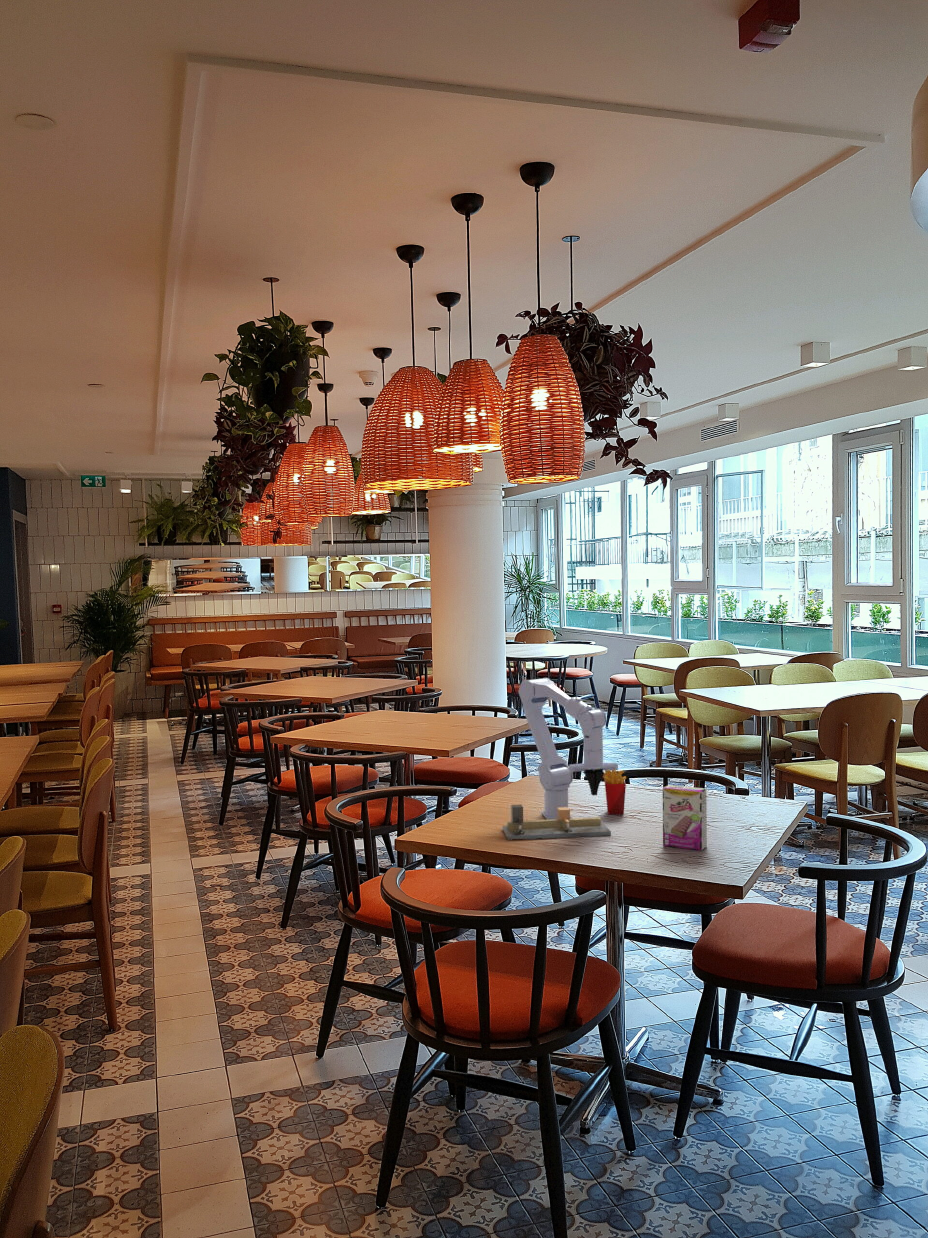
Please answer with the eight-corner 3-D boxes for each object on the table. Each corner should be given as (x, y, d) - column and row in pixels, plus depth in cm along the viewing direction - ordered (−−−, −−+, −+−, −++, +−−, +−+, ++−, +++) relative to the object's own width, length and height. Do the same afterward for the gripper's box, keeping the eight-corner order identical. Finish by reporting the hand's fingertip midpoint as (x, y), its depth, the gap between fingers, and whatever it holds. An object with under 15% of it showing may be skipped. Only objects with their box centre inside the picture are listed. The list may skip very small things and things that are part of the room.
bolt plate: (502, 829, 284) (502, 804, 284) (601, 825, 287) (600, 800, 287) (508, 840, 272) (507, 813, 272) (610, 835, 275) (610, 809, 275)
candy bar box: (662, 846, 263) (661, 787, 262) (668, 842, 267) (667, 784, 266) (702, 851, 257) (701, 791, 256) (707, 847, 261) (706, 787, 261)
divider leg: (557, 823, 284) (557, 807, 284) (568, 823, 285) (567, 807, 285) (562, 830, 277) (562, 813, 276) (573, 829, 277) (573, 813, 277)
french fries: (625, 810, 305) (624, 764, 305) (627, 816, 297) (626, 769, 297) (597, 810, 306) (597, 764, 306) (598, 816, 298) (598, 769, 298)
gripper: (572, 753, 282) (573, 798, 282) (620, 751, 283) (621, 796, 283) (567, 749, 289) (568, 793, 289) (614, 747, 290) (615, 791, 290)
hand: (594, 794), depth 287 cm, fingers closed
